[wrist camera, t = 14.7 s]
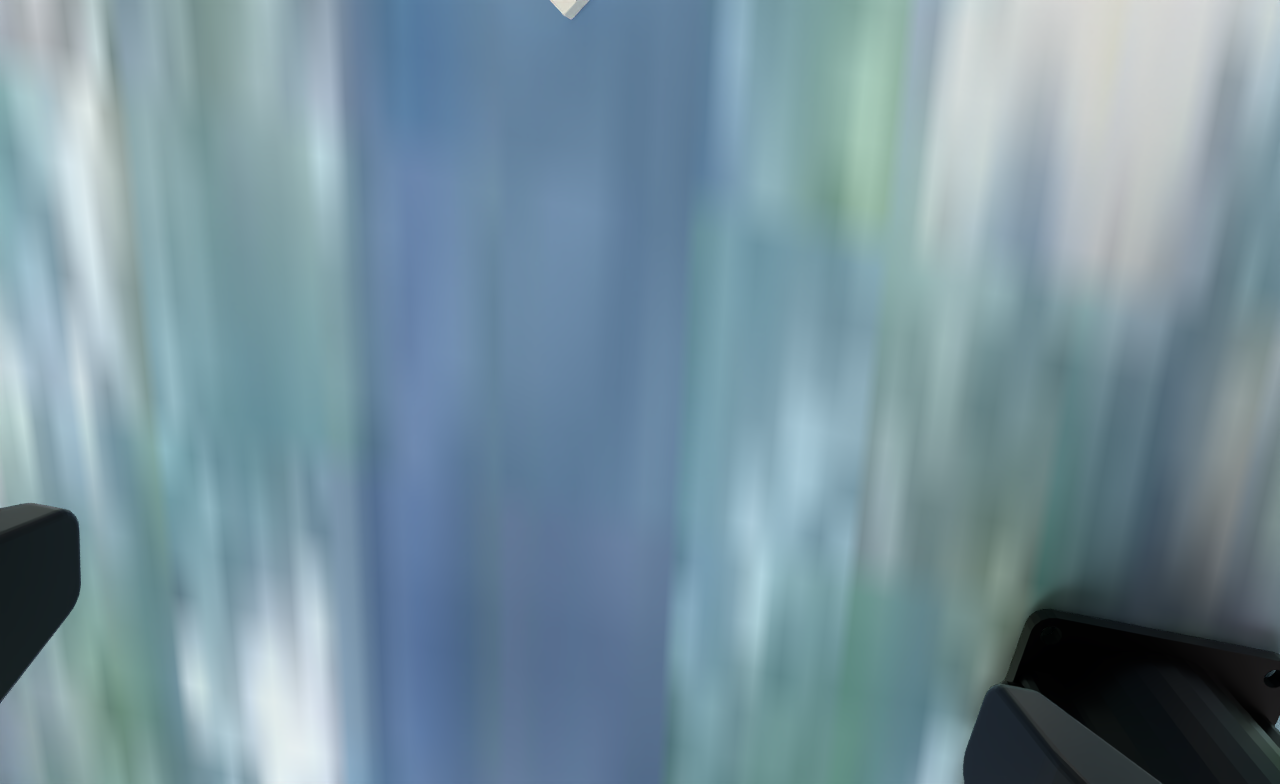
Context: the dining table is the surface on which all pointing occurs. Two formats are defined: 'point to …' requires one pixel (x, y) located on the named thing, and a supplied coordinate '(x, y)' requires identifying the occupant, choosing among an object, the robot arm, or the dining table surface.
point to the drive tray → (569, 6)
